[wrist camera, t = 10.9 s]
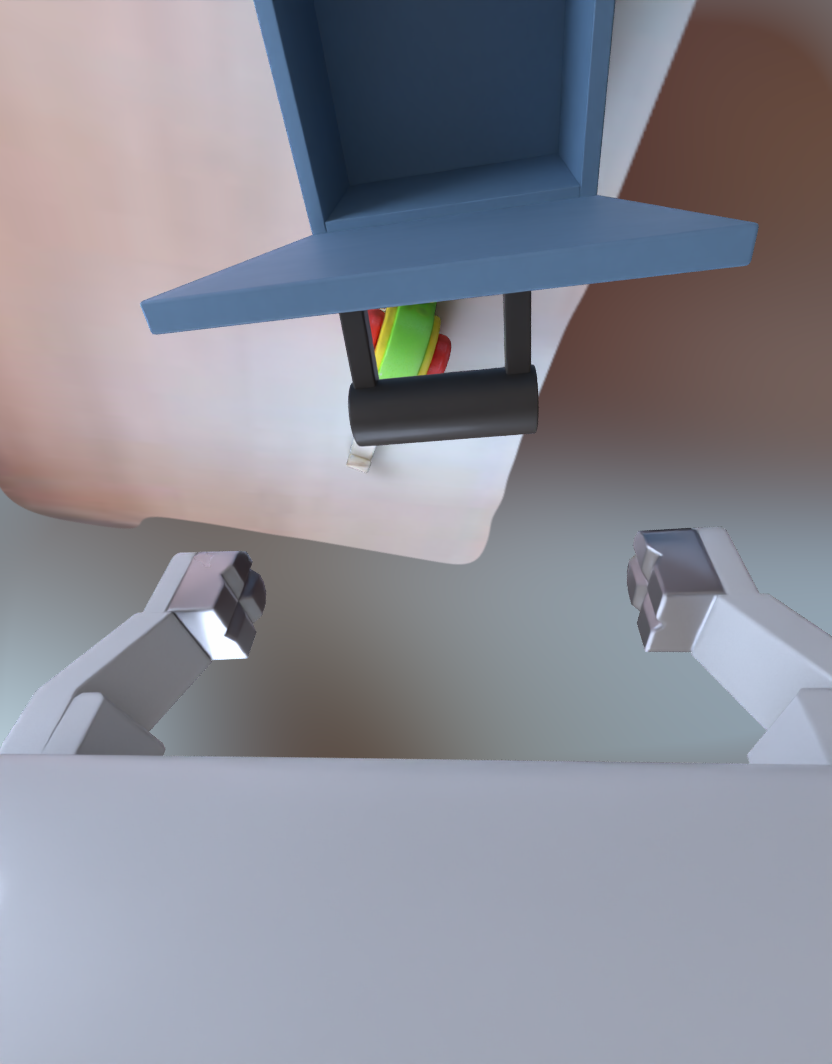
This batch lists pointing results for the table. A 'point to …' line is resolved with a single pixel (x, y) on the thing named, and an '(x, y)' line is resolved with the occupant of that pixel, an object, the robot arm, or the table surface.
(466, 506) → the table surface
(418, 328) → the toy measuring tape
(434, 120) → the toy chest
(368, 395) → the chest lid
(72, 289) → the table surface
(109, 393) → the table surface
